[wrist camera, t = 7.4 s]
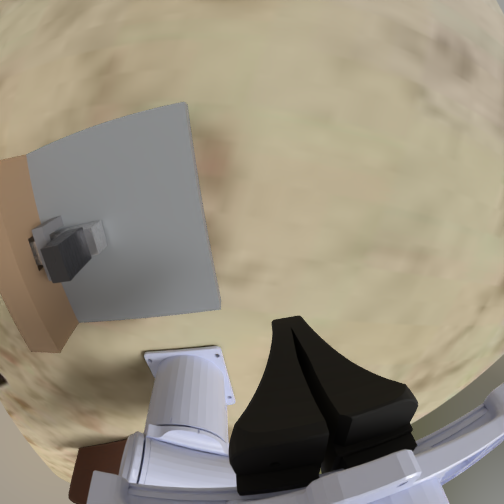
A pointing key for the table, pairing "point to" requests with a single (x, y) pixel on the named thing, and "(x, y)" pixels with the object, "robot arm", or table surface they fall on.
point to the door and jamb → (107, 227)
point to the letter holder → (94, 467)
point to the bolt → (70, 250)
